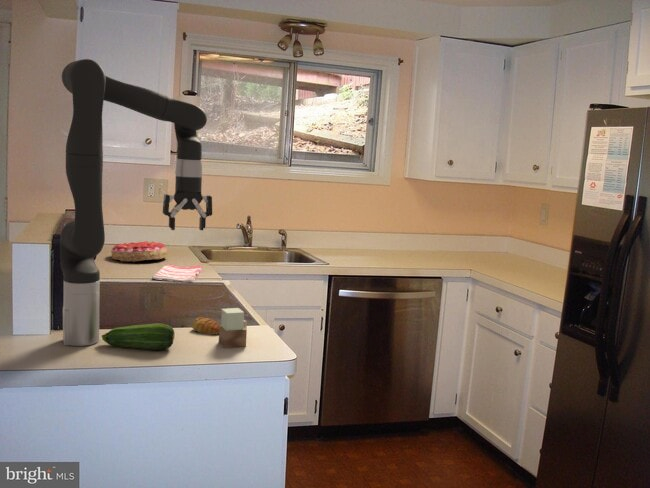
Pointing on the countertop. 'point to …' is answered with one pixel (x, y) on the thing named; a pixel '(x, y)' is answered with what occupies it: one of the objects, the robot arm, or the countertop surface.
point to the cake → (139, 251)
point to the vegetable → (141, 336)
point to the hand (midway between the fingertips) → (187, 229)
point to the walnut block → (232, 338)
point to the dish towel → (178, 273)
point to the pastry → (206, 326)
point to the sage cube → (232, 319)
